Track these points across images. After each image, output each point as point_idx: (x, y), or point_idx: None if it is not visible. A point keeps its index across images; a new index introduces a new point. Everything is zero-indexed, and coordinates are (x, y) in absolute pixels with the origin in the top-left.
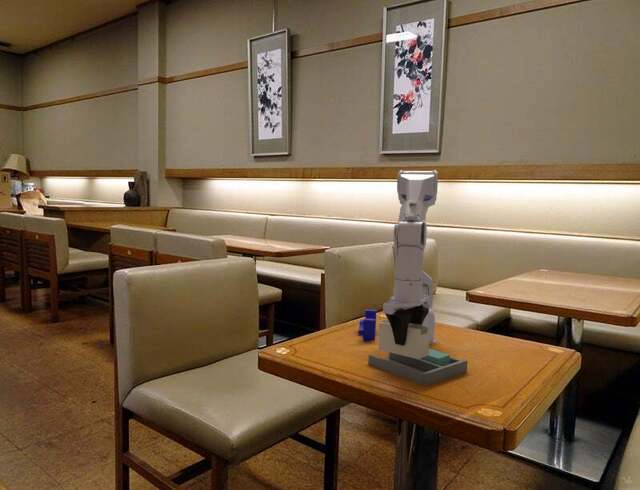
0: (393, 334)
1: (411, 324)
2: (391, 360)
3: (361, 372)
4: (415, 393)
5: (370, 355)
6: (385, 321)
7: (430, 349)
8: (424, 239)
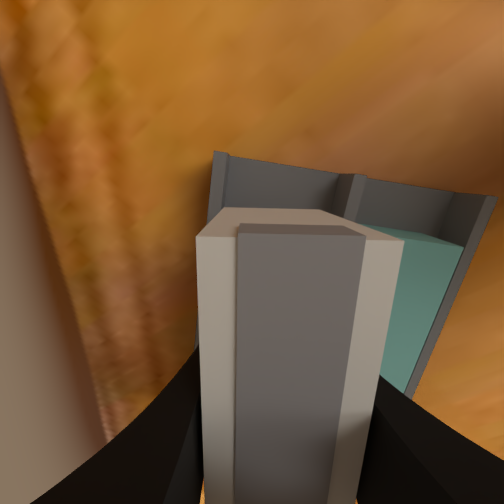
0: (181, 370)
1: (311, 488)
2: (319, 199)
3: (150, 178)
4: (152, 380)
5: (213, 163)
6: (261, 278)
7: (419, 337)
8: None
